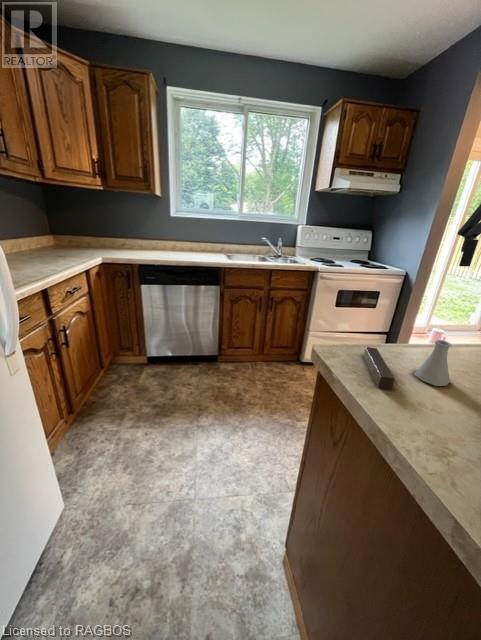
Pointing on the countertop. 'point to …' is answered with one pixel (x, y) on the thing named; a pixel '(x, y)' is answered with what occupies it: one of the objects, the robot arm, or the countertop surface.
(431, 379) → the flask
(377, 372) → the rail
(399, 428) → the countertop surface
